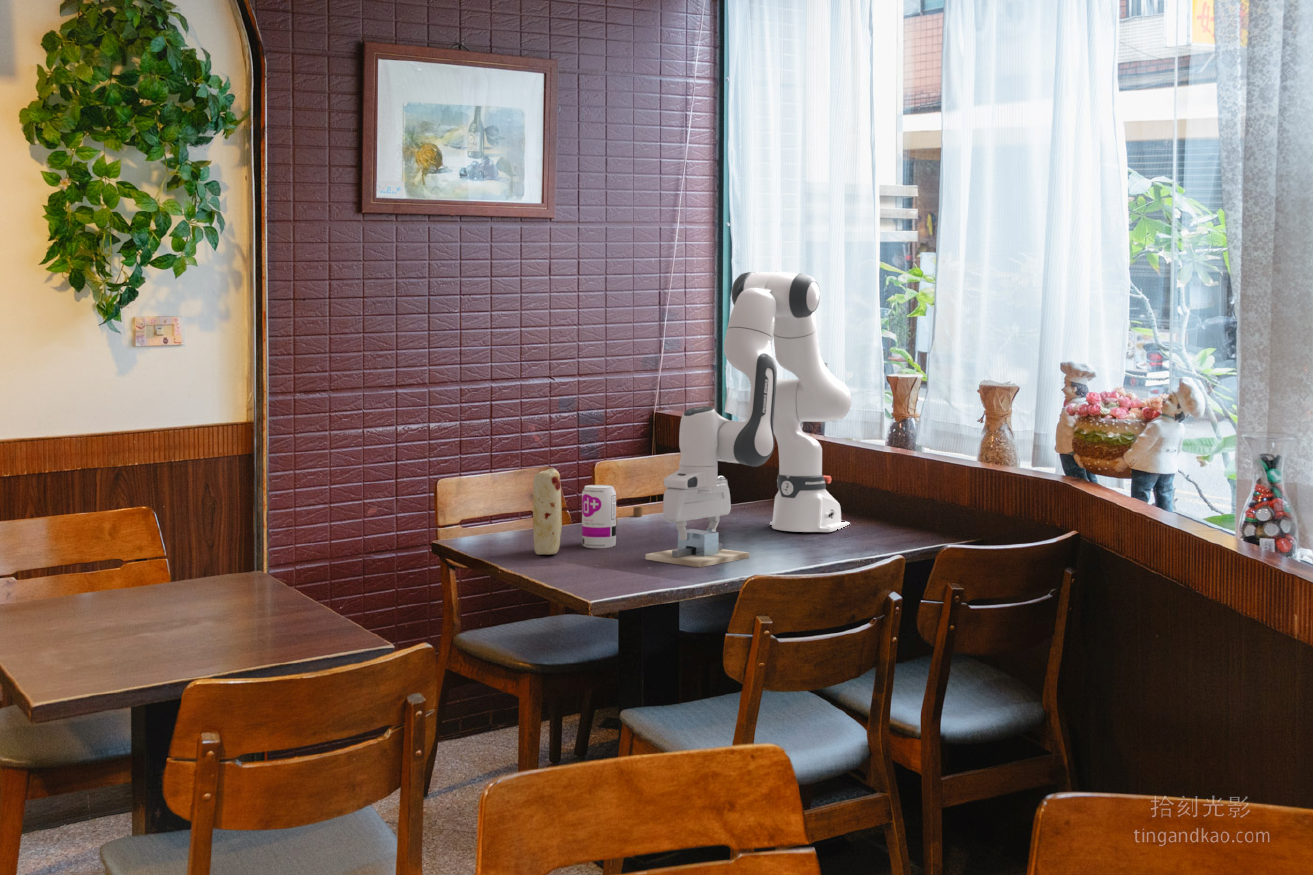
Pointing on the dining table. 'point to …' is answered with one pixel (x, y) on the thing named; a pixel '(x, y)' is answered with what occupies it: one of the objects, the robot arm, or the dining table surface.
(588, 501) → the supplement can
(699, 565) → the rail base
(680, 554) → the guide rail
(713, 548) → the saddle block
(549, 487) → the food model
